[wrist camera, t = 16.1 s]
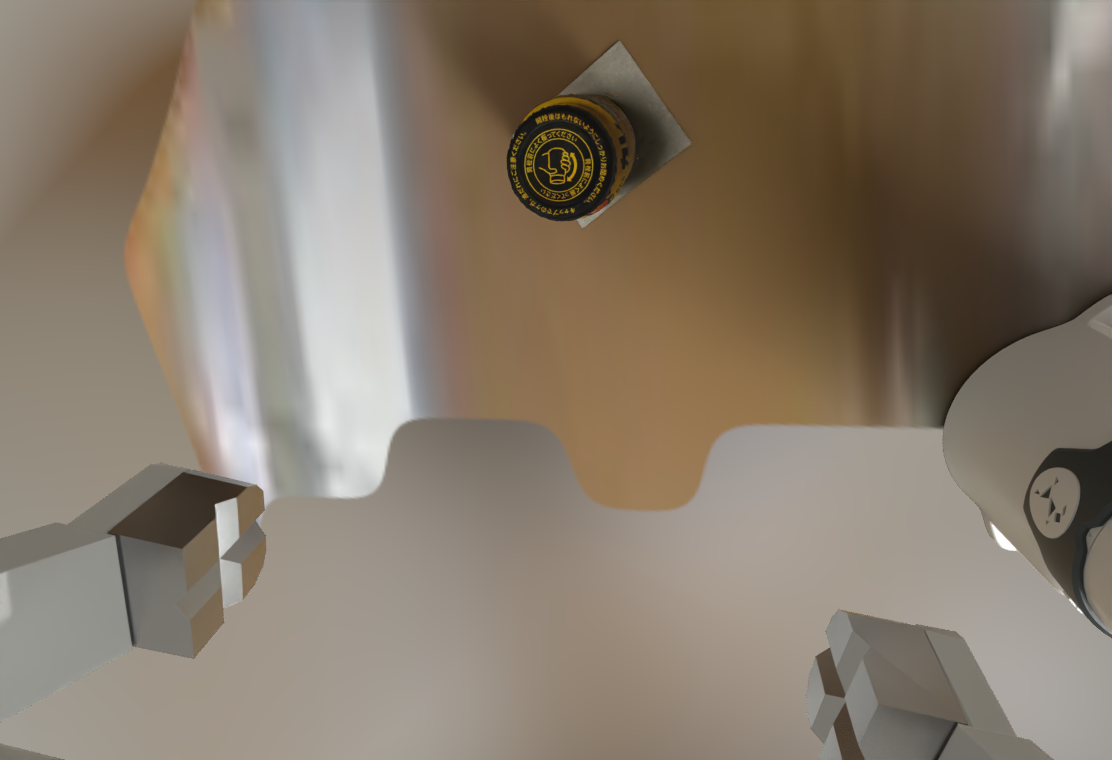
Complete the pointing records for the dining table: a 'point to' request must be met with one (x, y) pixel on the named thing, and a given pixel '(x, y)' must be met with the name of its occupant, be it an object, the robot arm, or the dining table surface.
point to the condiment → (592, 142)
